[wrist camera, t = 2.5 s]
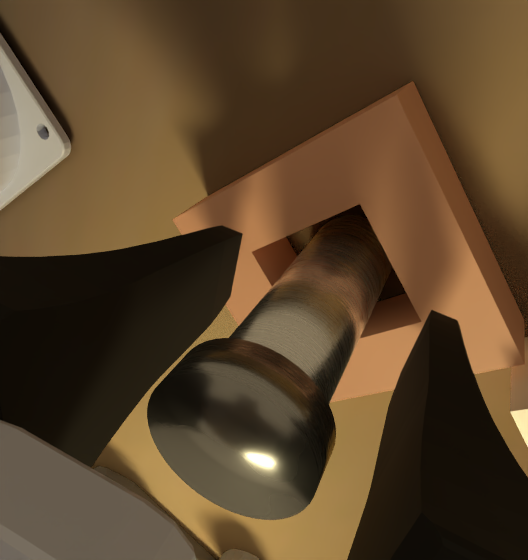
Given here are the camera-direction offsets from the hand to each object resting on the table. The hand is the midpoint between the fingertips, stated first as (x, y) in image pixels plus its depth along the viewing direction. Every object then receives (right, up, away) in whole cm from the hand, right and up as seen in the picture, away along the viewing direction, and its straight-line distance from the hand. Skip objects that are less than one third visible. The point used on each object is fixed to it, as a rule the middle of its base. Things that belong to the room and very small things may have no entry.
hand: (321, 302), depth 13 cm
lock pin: (+1, +1, +2) cm, 3 cm away
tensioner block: (+1, +1, +2) cm, 3 cm away
